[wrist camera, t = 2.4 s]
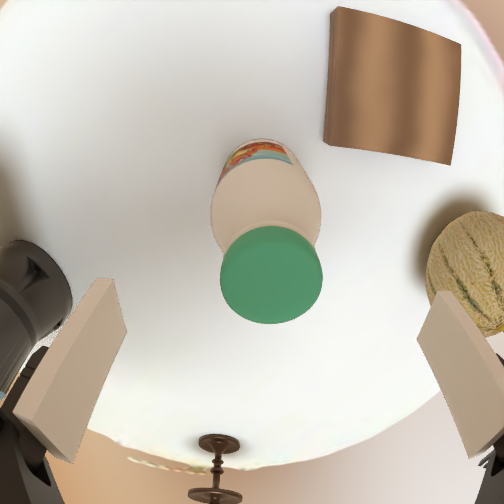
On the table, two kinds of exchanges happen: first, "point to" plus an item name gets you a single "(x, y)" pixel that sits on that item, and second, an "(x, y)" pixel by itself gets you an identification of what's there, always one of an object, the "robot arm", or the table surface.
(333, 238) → the table surface
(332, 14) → the block
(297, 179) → the milk bottle
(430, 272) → the cantaloupe
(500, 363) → the robot arm
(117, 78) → the table surface
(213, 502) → the candlestick
